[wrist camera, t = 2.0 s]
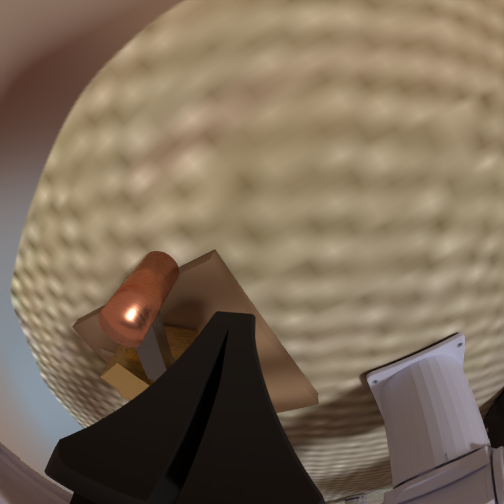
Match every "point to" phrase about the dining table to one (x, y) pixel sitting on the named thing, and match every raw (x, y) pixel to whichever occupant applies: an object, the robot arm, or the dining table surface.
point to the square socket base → (198, 315)
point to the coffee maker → (496, 424)
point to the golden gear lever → (143, 327)
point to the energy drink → (356, 499)
